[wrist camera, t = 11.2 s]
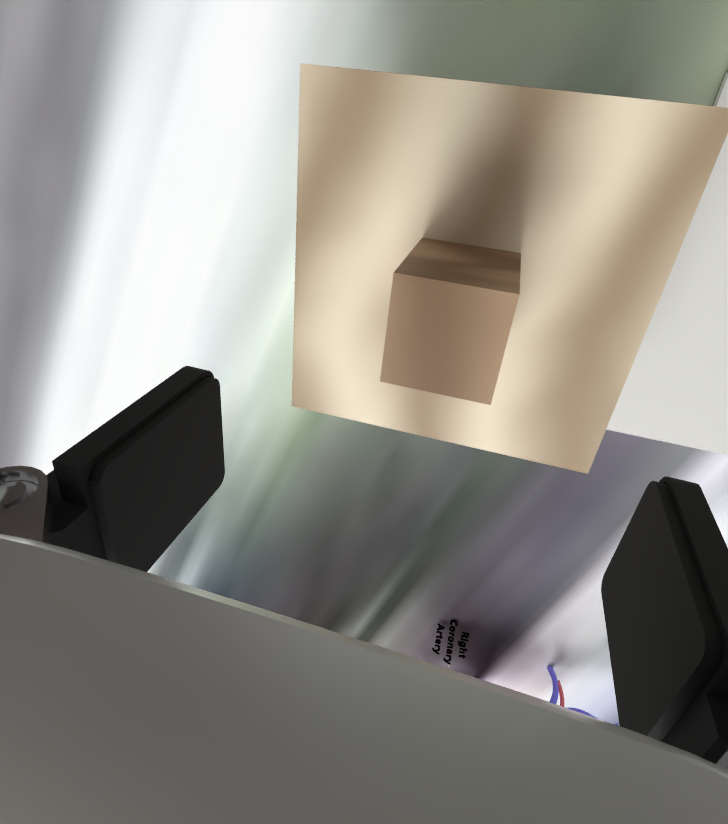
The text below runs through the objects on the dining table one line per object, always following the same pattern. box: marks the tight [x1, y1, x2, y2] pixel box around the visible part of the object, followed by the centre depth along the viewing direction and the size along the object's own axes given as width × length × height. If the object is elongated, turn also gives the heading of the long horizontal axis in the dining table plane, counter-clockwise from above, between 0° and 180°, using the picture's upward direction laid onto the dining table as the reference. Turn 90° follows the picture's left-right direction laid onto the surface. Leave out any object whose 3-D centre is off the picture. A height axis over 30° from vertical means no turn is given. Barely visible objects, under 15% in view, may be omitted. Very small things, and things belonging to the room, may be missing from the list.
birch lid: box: [292, 63, 728, 474], centre depth 20 cm, size 15×15×6 cm
